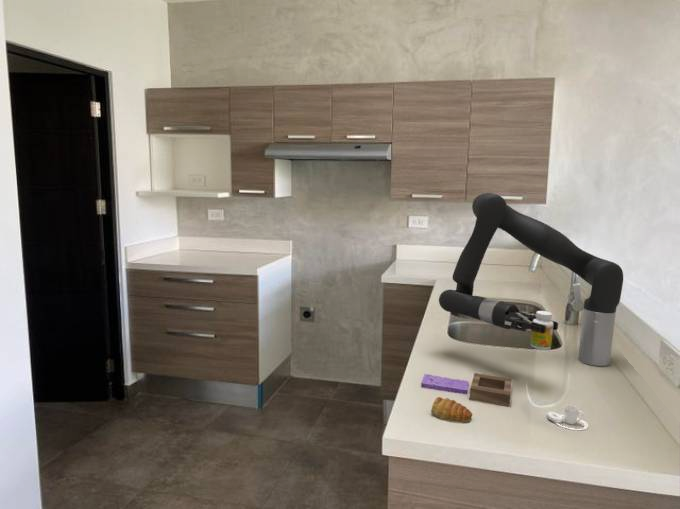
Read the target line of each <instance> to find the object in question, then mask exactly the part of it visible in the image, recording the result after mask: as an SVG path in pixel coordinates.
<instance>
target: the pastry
mask: <svg viewBox="0 0 680 509" xmlns="http://www.w3.org/2000/svg"><path fill="white" fill-rule="evenodd" d="M430 412H431V413H432V414H433V415H434V416H435V417H436V418H441V419H442V420H444V421H450V422H456V423H468V422H470V421H471V420H472V417H473V413H472V412H471V410H470V409H468V408H467V407H466V406H465V405H463V404H462V403H459V402H457V401H456V400H455V399H450V398H448V397H447V398H443V397H441V396H437V397H436V398H435V399H434V401H433V404H432V406H431V409H430Z"/></svg>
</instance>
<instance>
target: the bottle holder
mask: <svg viewBox="0 0 680 509" xmlns="http://www.w3.org/2000/svg"><path fill="white" fill-rule="evenodd" d="M512 380H513V379H512V377H511V378H510V377H503V376H497V375H493V374H492V375H491V374H484V373H480V372H479V373H478V372H474V374H473V377H472V381H471V384H470V388H469V400H470V401H477V402H481V403H489V404H494V405H499V406H504V407H510V404H511V395H512V393H511V392H512V382H513V381H512Z"/></svg>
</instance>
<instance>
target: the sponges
mask: <svg viewBox="0 0 680 509" xmlns="http://www.w3.org/2000/svg"><path fill="white" fill-rule="evenodd" d="M420 387H421V388H424V389H430V390H438V391H442V392H450V393H455V394H460V395H462V394H463V395H468V392H469V380H464V379H456V378H451V377H445V376H439V375H432V374H429V373H424V374H423V377H422V379H421V382H420Z"/></svg>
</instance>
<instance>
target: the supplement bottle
mask: <svg viewBox="0 0 680 509" xmlns="http://www.w3.org/2000/svg"><path fill="white" fill-rule="evenodd" d="M535 313H536V317H537V318H536V319H534V320H533V322H535V323H539V324H542V325H545V326H546V333H539V332H536V331H532V330H531V333H530V346H531V347H532V348H534V349H537V350H545V351H546V350H550V349H551V348H552V340H553V334H554V333H553V331H554V330H553V322H552V321H553V320H552V318H553V317H552V316H553V315H552V314H553V313H552V312H550V311H545V310H537V311H536V312H535ZM533 322H532V323H533Z"/></svg>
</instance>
